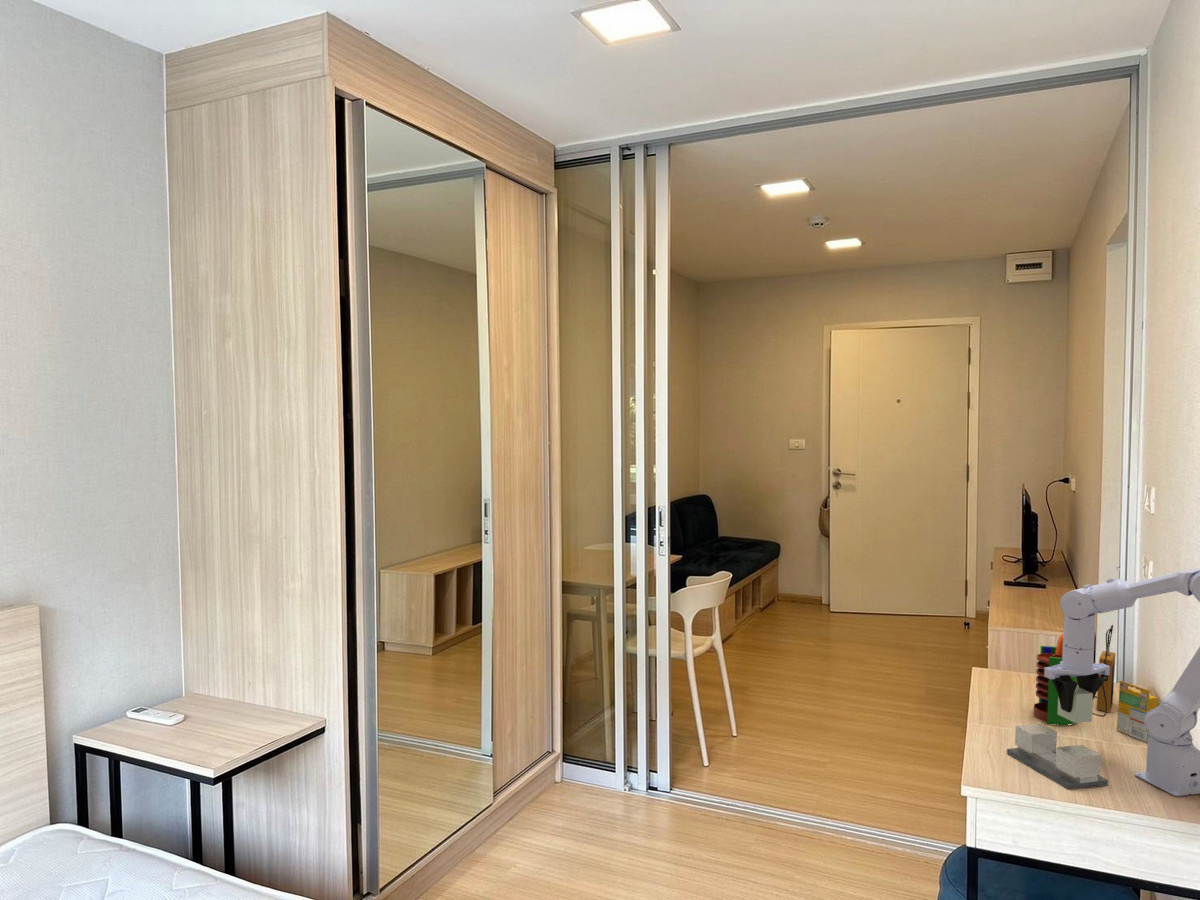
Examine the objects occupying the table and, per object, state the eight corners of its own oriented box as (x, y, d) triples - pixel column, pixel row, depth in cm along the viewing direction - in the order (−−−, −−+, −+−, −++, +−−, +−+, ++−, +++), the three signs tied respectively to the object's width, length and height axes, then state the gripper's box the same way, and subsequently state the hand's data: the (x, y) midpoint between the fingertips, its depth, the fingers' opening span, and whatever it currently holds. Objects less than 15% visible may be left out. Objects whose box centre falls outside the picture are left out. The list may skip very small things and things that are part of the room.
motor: (1025, 709, 208) (1029, 627, 207) (1062, 710, 208) (1066, 628, 206) (1045, 725, 198) (1049, 639, 196) (1085, 726, 197) (1089, 640, 196)
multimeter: (1069, 692, 221) (1073, 615, 220) (1114, 700, 215) (1118, 621, 214) (1060, 708, 209) (1064, 627, 208) (1107, 718, 203) (1112, 634, 202)
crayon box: (1156, 741, 190) (1159, 689, 189) (1146, 743, 188) (1149, 690, 188) (1125, 729, 196) (1128, 679, 196) (1116, 730, 195) (1118, 680, 195)
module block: (1091, 721, 180) (1092, 693, 180) (1075, 722, 179) (1076, 694, 179) (1073, 713, 185) (1074, 685, 184) (1057, 714, 184) (1058, 686, 184)
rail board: (1107, 785, 167) (1109, 754, 167) (1068, 789, 165) (1070, 758, 165) (1043, 750, 184) (1044, 722, 183) (1007, 753, 182) (1008, 725, 181)
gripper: (1092, 639, 186) (1089, 700, 187) (1034, 642, 183) (1032, 705, 184) (1119, 648, 180) (1115, 712, 180) (1059, 652, 176) (1056, 717, 177)
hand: (1075, 709), depth 182 cm, fingers closed on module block, 4 cm apart
